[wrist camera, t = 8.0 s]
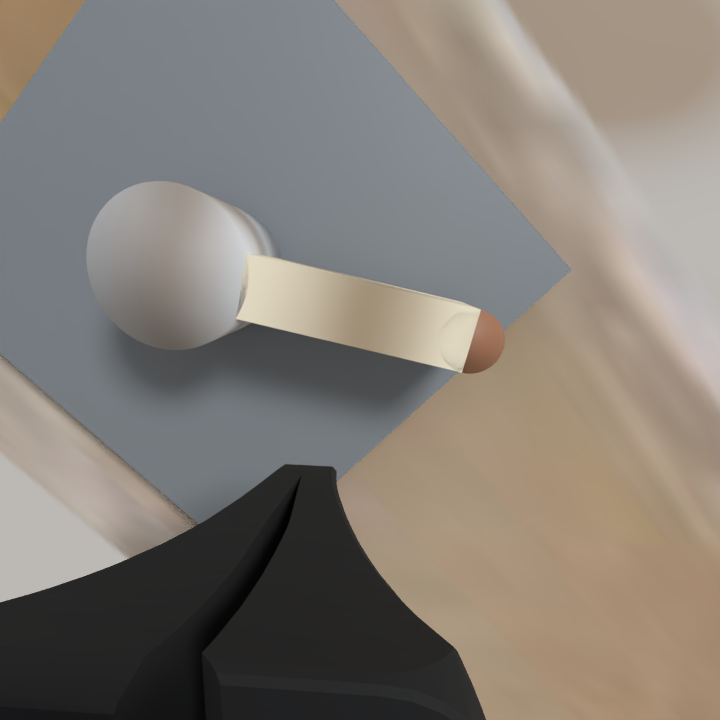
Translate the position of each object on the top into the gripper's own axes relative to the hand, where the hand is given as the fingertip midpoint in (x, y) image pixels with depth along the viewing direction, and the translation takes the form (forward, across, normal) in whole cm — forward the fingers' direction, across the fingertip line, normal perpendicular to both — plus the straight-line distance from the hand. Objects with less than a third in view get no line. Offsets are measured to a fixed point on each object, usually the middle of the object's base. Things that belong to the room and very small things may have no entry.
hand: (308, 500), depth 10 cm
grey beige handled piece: (+7, +1, -5) cm, 9 cm away
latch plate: (+9, +5, -6) cm, 12 cm away
